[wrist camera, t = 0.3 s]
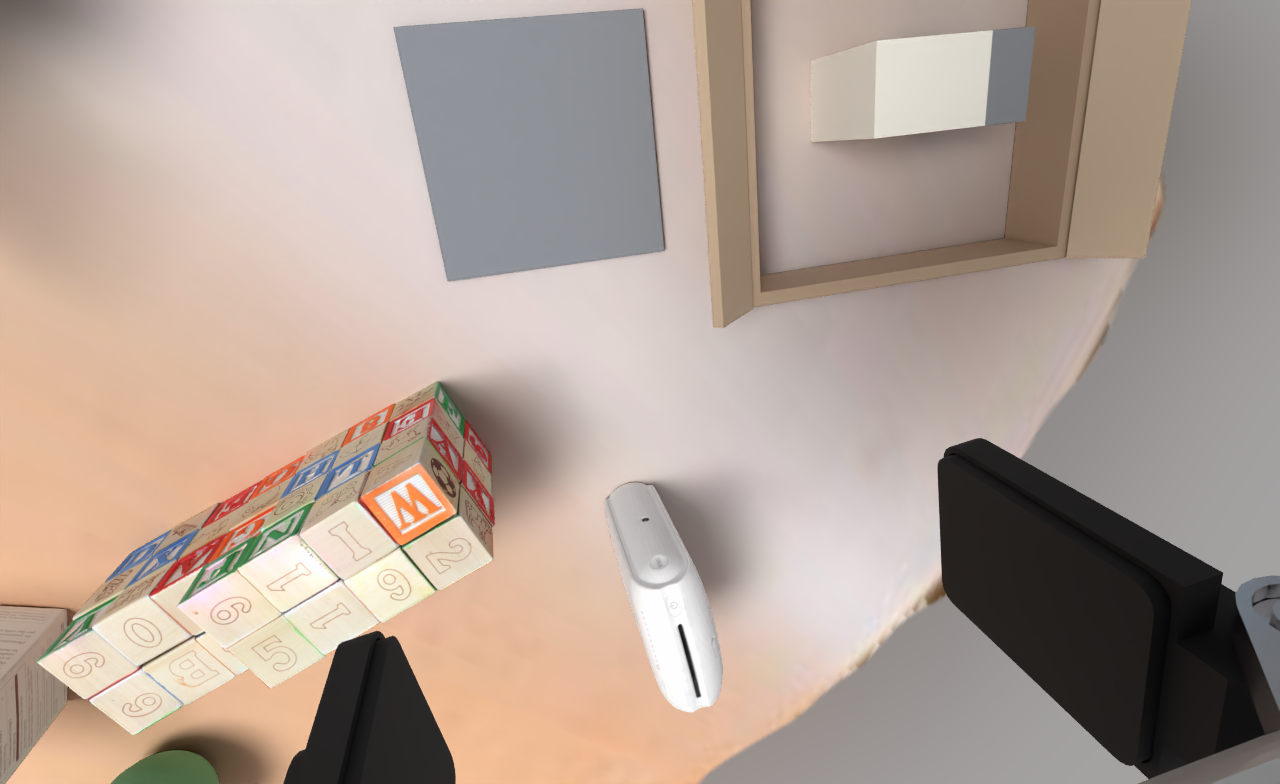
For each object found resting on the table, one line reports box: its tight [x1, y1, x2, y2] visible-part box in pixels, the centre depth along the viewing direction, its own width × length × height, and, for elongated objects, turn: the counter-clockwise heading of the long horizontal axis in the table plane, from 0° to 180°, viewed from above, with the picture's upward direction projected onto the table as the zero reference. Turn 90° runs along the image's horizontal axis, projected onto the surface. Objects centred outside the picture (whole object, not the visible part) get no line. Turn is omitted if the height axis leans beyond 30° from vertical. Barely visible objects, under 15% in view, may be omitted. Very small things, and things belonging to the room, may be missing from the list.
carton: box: [692, 0, 1192, 328], centre depth 36 cm, size 22×28×8 cm
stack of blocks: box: [37, 382, 495, 735], centre depth 35 cm, size 21×6×12 cm, turn 117°
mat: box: [394, 8, 664, 281], centre depth 36 cm, size 13×13×1 cm
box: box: [811, 26, 1036, 142], centre depth 36 cm, size 4×9×7 cm, turn 96°
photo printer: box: [605, 482, 723, 712], centre depth 41 cm, size 10×4×12 cm, turn 13°
